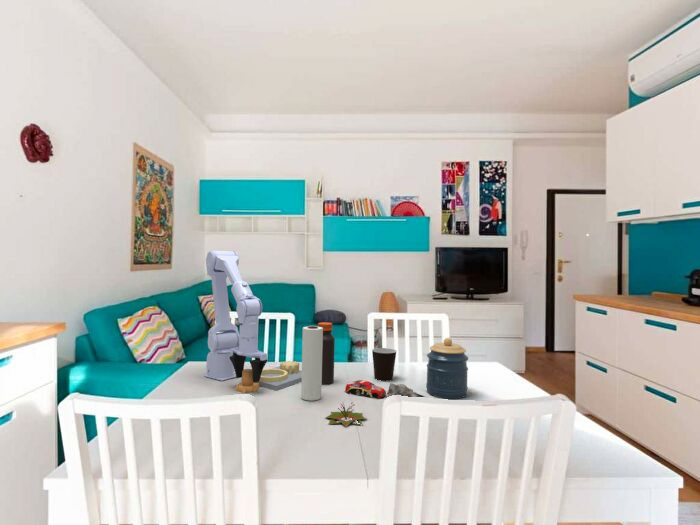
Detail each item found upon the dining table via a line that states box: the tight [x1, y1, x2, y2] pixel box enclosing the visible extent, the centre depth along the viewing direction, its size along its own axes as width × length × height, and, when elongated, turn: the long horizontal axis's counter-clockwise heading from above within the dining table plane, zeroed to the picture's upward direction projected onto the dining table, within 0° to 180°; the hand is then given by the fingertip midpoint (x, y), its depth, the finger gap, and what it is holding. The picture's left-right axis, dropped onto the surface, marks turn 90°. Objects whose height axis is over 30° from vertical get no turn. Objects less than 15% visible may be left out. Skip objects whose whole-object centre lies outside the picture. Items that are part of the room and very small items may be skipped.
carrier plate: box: [255, 360, 302, 391], centre depth 147 cm, size 16×19×4 cm
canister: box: [425, 337, 469, 400], centre depth 136 cm, size 13×13×18 cm
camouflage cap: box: [385, 382, 425, 399], centre depth 122 cm, size 7×11×10 cm
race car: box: [344, 379, 387, 399], centre depth 133 cm, size 13×5×4 cm, turn 63°
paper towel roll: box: [300, 324, 323, 402], centre depth 129 cm, size 7×6×21 cm
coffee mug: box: [371, 347, 397, 382], centre depth 152 cm, size 12×9×10 cm
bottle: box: [317, 321, 336, 386], centre depth 145 cm, size 7×7×20 cm
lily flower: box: [324, 401, 367, 428], centre depth 112 cm, size 12×12×5 cm
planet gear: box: [235, 368, 260, 394], centre depth 135 cm, size 7×7×6 cm
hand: (247, 379), depth 135 cm, fingers open, 7 cm apart
